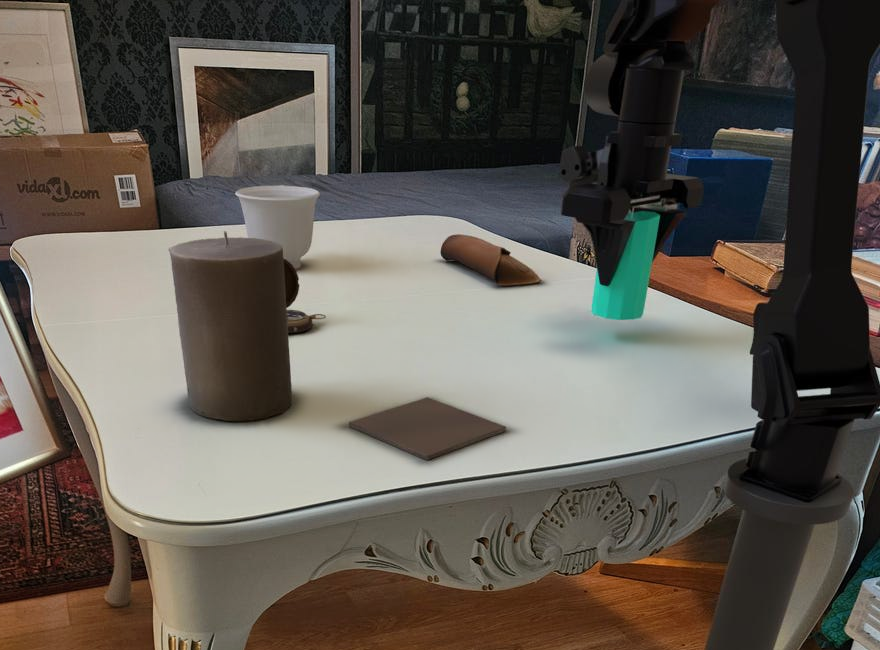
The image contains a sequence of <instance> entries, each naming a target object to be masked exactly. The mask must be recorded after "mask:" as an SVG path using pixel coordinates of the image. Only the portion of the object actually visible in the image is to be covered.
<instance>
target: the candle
mask: <svg viewBox="0 0 880 650" xmlns="http://www.w3.org/2000/svg"><path fill="white" fill-rule="evenodd" d="M626 220H629V221H635V224H634V227H633V229H632V232H631V234H630V237H629V240H628V242H627V244H626V247H625V250H624V252H623V255H622V257H621V260H620V262H619V265H618V267H617V270H616V272H615V275H614V277H613V279H612V281H611V283H610V285H609V286H603V285H601V284H600V282H599V276H598V270H597V269H596V271H595V272H596V273H595V279H594V286H593V292H592V293H593V294H592V300H591V306H590V307H591V308H590V313H591V314H592V315H594V316H596V317H599V318H602V319H607V320H615V321H633V320H637V319H641V318H642V317H643V315H644V313H645V312H644V311H645V307H646V306H645V305H646V300H647V294H648V287H649V283H650V277H651V271H652V265H653V262H652V260H653V254H654V248H655V243H656V237H657V231H658V225H659V220H660V215H659V214H657V213H655V212H649V211H640V212H634V206H633V209H632V213H631V212H628V214H627V215H626Z"/></svg>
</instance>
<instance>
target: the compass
mask: <svg viewBox="0 0 880 650" xmlns="http://www.w3.org/2000/svg"><path fill="white" fill-rule="evenodd" d="M283 261H284V276H285V292H286V310H287V325H288V334H295V333H296V334H297V333H301V332H305V331H308V330H309V329H311V328H312V326H313V320H324V319H326V318H327V316H326V315H325V314H323V313H322V314H321V313H314V314H310V315H308V314H306V312H305V311H302V310H299V309H297V310H296V309H288V308H289V307H291V306H292V305H293V303H294V302H295V301H296V299H297V297H298V295H299V292H300V283H299V280H300V278H299V275H298V271H297V269H295V268H294V267H293V265H292V264H291V263H290V262H288V261H287V260H286V259H284V258H283ZM317 316H320V317H317ZM321 316H322V317H321Z"/></svg>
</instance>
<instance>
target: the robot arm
mask: <svg viewBox="0 0 880 650" xmlns="http://www.w3.org/2000/svg"><path fill="white" fill-rule="evenodd" d="M722 1H723V0H621V1H620V3H619V6H618V8H617V10H616V12H615V14H614V16H613V17H612V19H611V21H610V23H609V24H608V27H607V29H606V31H605V40H604V43H603V46H602V47H603V48H602V51H603V52H604V54H602V55H601V56H599V57H598V58H597V59H596V60H594V62H593V63H591V66H590V67H589V69H588V72H587V75H586V76H585V77H584V83H583V93H584V98H585V100H586V103H587V105H588V106H589V108H590V109H591V110H592V111H594V112H596V113H598V114H602V115H608V116H613V117H618V118H619V119H618V125H617V130H615V131H614V130H613V131H608V134H607V135H606V136H605V141H604V142H605V143H604V147H603V148H601V149H598V150H595V151H589V152H587V151H586V148H585V147H584V146H583V145H574V146H569V147H567V148H565V149H562V152H561V157H560V163H559V171H558V178H559V179H560V180H561V181H562V182H563V183H567V185H568V188H567V190H566V191H565V192H564V193H563V194H562V199H561V207H560V208H561V209H560V216H562V217H570V218H574V219H575V222H576V223H578V224H582V226H583V227H584V228H585V229H586V230H587V232H588V233H589V235H590V238H591V242H592V248H593V252H594V257H595V264H596V271H597V270H598V276H599V282H600V284H601V285H603V286H609V285H610V283H611V281H612V279H613V277H614V275H615V272H616V270H617V267H618V265H619V262H620V260H621V257H622V255H623V252H624V250H625V247H626V244H627V242H628V240H629V237H630V234H631V232H632V229H633V227H634V224H635V221H629V220H626V215H627V214H628V213H632V209H633V206H634V212H640V211H649V212H655V213H657V214H659V215H660V220H659V225H658V231H657V237H656V243H655V248H654V254H653V260H652V263H653V262H654V261H655V260H656V258H657V256H658V255H659V253H660V251H661V250H662V248H663V247H664V245H665V244H666V242H667V240H668V239H669V237H670V236H671V235H672V233H673V232H674V230H675V229H676V228H677V226H678V225H679V223H680V222H681V220H682V219H683V218H684V217H685V218H686V216H687V214H688V211H687V210H683V209H677V208H678V204H682V206H683V208H685V209H690V208H691V209H692V208H696V207H701V206H702V202H703V197H704V196H703V195H704V191H705V186H704V185H703V183H702V181H701V179H700V177H696V176H690V175H689V176H688V175H680V174H674V173H668V167H669V161H670V155H671V150H672V147H676V146H680V145H681V140H682V133H675V128H676V122H677V121H676V120H677V117H678V116H677V115H678V110H679V109H678V108H679V103H680V99H681V98H680V97H681V93H682V88H683V87H682V86H683V81H684V75H685V71H694V70H695V67H696V61H695V58H694V56H693V55H692V54H691V53H690V51H689V50H688V47H687V44H688V43H689V42H691V41H692V40H693V39H694V38H695V37H697V36H698V35H699V34H700V33H701V32H702V31H703V30H704V29H705V28H706V27H707V26H708V25H709V24H710V23H711V21H712V20H713V13H714V8H715V7H716V6H717V5H718V4H720V2H722ZM775 23H776V25H775V26H776V38H777V41H778V43H779V44H780V47H781V49H782V51H783V53H784V56H785V57H786V59H787V62H788V63H789V65H790V67H791V69H792V71H793V73H794V76H795V87H794V89H795V90H794V105H793V116H792V117H793V119H792V133H791V134H792V135H791V149H790V152H791V153H790V163H789V178H788V180H789V181H788V192H787V193H788V194H787V206H786V207H787V209H786V224H785V238H784V239H785V240H784V253H783V266H782V267H783V268H782V275H781V280H780V282H779V284H778V285H777V287H776V288H775V290H774V292H773V294H772V295H771V296H770V298H769V300H768V301H766V302H758V303H757V304H756V306H755V307H754V311H753V314H752V321H753V323H752V324H753V333H752V341H751V346H750V349H749V355H750V356H752V365H751V366H752V370H751V371H752V372H751V394H750V408H751V409H752V410H754V411H755V412H757V415H756V417H757V418H759V419H760V420H759V421H757V422H756V424H755V426H754V431H753V434H752V438H751V443H750V449H751V448H752V449H754V451H749V452H747V457H746V459H747V460H746V466H747V467H749V469H747V470H745V471H744V472H742V473H740V477H739V479H740V480H742V481H745V482H748V483H751V484H754V485H756V486H759V487H762V488H765V489H768V490H771V491H774V492H777V493H779V494H782V495H785V496H788V497H791V498H794V499H797V500H799V501H802V502H807V503H810V502H812V501H814V500H815V499H817V498H818V497H820V496H821V495H823V494H825V493H826V492H828V491H829V490H831V489H832V488H834V487H835V486H837V485H838V484H840V483H841V480H842V477H843V476H842V477H840V476H837V475H836V474H838V470H839V467H840V464H841V461H842V459H843V457H844V453H845V450H846V446H847V444H848V441H849V438H850V435H851V433H852V429H853V426H854V422H855V420H871V419H873V417H874V415H875V414H876V413H877V411H878V410H879V409H880V378H879V375H878V371H877V368H876V364H875V361H874V358H873V357H874V356H873V353H872V350H871V336H870V335H871V333H870V308H869V304H868V302H867V300H866V298H865V296H864V295H863V292H862V290H861V289H860V287H859V285H858V282H857V281H856V279H855V276H854V274H853V270H852V267H853V255H854V254H853V253H854V244H855V243H854V242H855V231H856V220H857V211H858V210H857V208H858V199H859V186H860V175H861V164H862V153H863V152H862V151H863V143H864V131H865V121H866V120H865V119H866V108H867V96H868V88H869V87H868V85H869V76H870V75H869V73H870V67H871V62H872V60H873V58H874V56H875V55H876V53H877V52H878V50H879V48H880V0H775ZM828 389H829V392H830V393H825V394H823V393H822V394H814V395H813V394H811V395H800V396H799V394H798V392H801V391H814V390H828Z"/></svg>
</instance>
